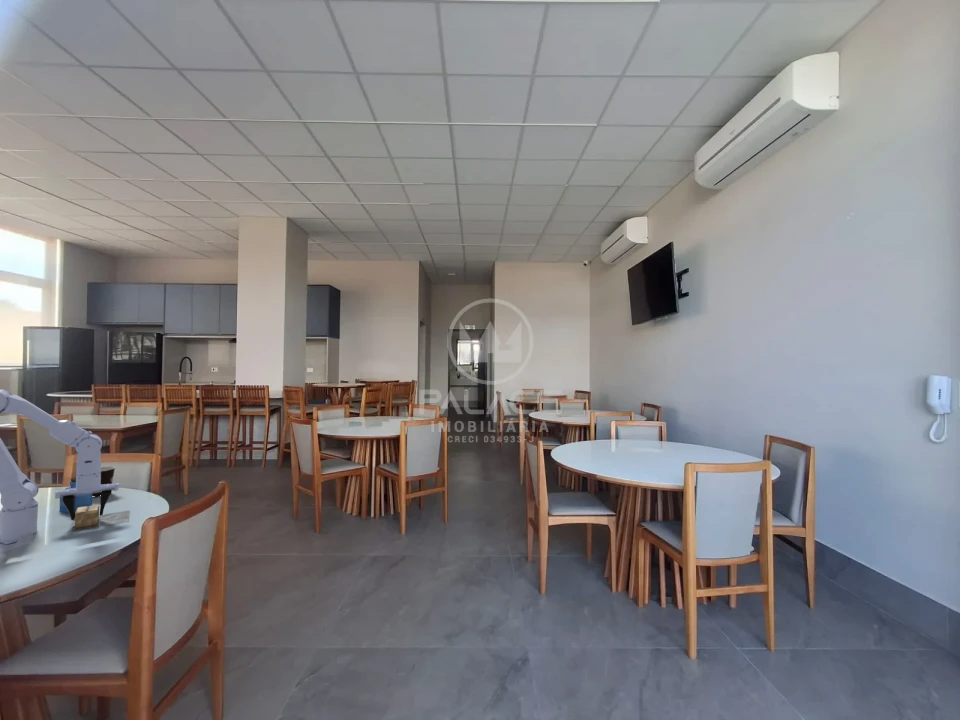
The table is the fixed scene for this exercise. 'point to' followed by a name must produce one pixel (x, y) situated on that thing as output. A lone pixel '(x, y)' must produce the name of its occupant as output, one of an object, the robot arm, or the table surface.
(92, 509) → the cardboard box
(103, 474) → the coffee mug
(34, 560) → the table surface
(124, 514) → the hub plate
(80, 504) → the perfume bottle
